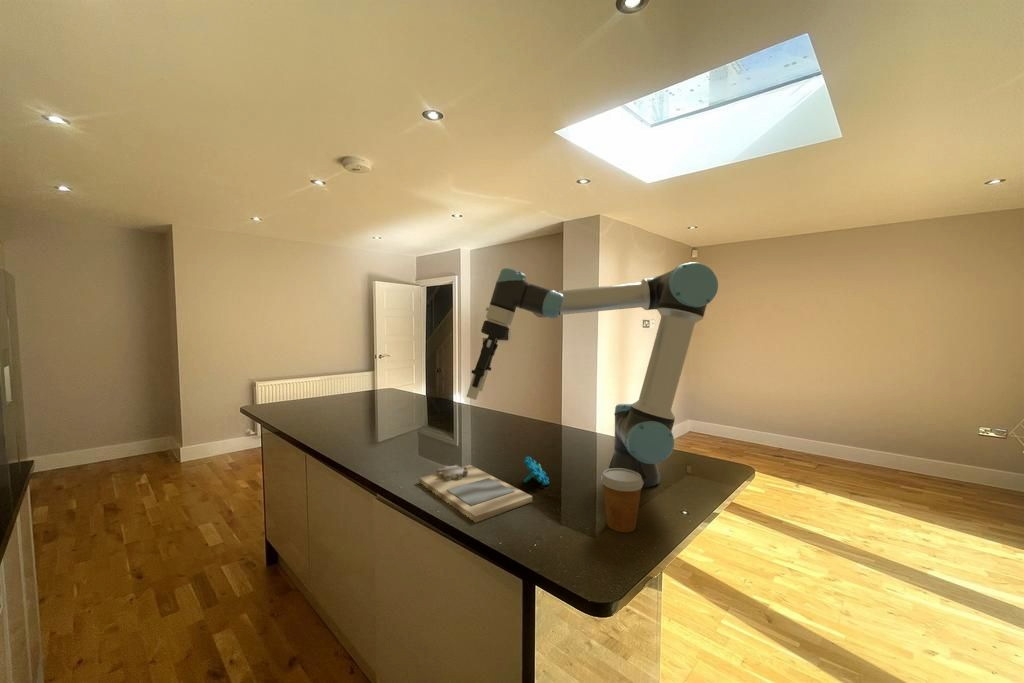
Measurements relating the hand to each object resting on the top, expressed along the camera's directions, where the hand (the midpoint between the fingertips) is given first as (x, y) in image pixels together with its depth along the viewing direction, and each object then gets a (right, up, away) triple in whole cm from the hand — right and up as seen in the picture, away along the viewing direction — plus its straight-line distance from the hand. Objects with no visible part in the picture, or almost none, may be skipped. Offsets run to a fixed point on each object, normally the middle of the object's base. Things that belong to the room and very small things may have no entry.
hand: (474, 393), depth 108 cm
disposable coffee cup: (+36, -28, -20) cm, 50 cm away
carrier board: (0, -27, -2) cm, 27 cm away
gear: (+18, -28, +5) cm, 33 cm away
